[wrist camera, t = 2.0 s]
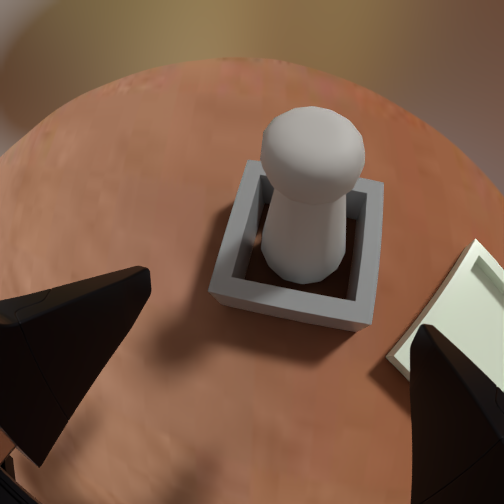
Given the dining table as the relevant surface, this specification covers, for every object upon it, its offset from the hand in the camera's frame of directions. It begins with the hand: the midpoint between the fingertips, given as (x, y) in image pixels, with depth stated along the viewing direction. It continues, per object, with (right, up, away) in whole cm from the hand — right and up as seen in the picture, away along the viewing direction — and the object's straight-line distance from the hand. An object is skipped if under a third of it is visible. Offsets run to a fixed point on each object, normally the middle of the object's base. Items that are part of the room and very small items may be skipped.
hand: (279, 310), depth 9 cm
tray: (+17, -6, +9) cm, 20 cm away
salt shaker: (+3, +2, +14) cm, 14 cm away
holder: (+3, +2, +14) cm, 14 cm away
